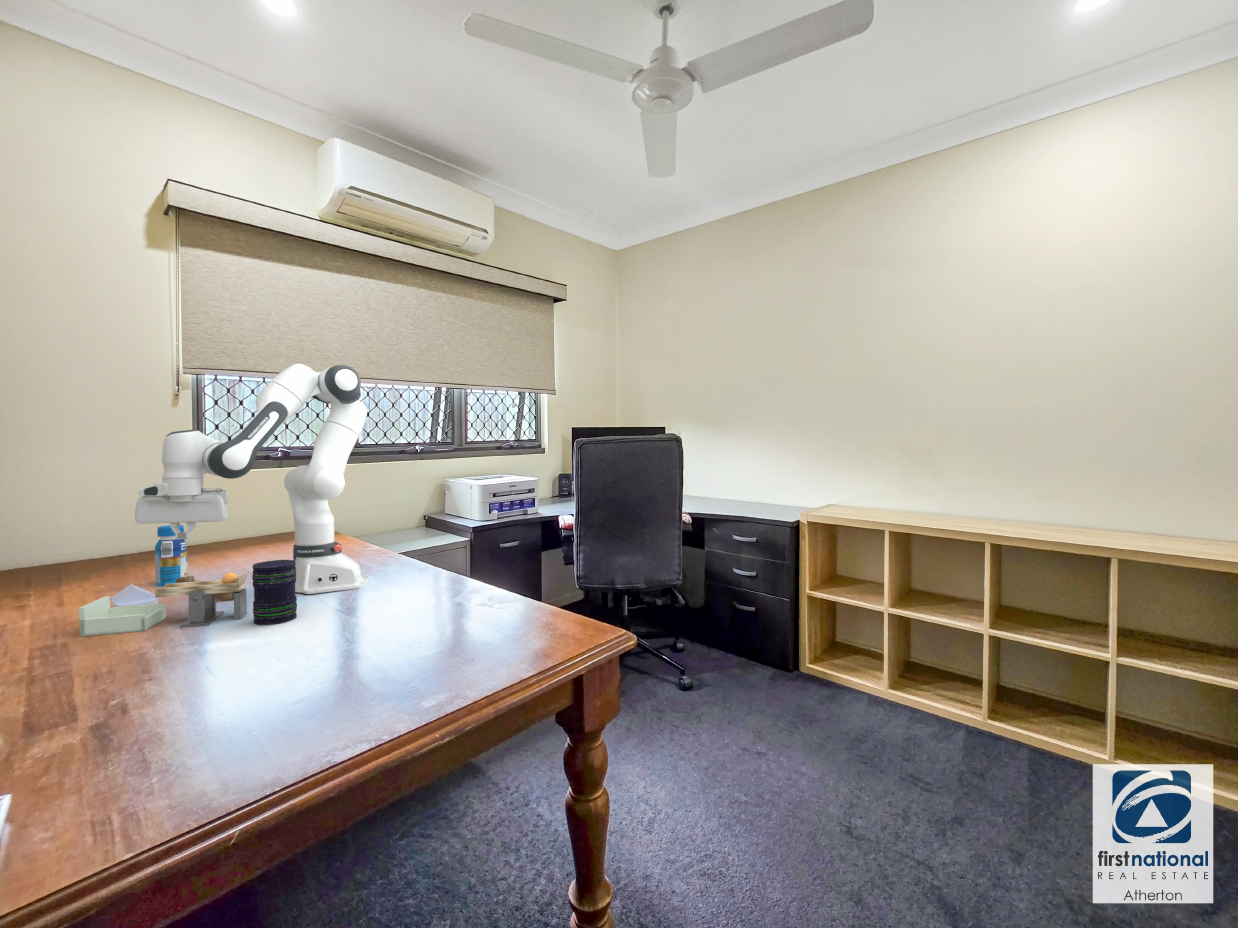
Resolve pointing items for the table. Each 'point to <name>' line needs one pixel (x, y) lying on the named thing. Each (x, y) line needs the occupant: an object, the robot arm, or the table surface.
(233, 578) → the ball
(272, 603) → the dark barrel
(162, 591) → the lever
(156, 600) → the wedge on round base
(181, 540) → the beverage bottle
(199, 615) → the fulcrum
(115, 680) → the table surface
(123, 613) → the tray
